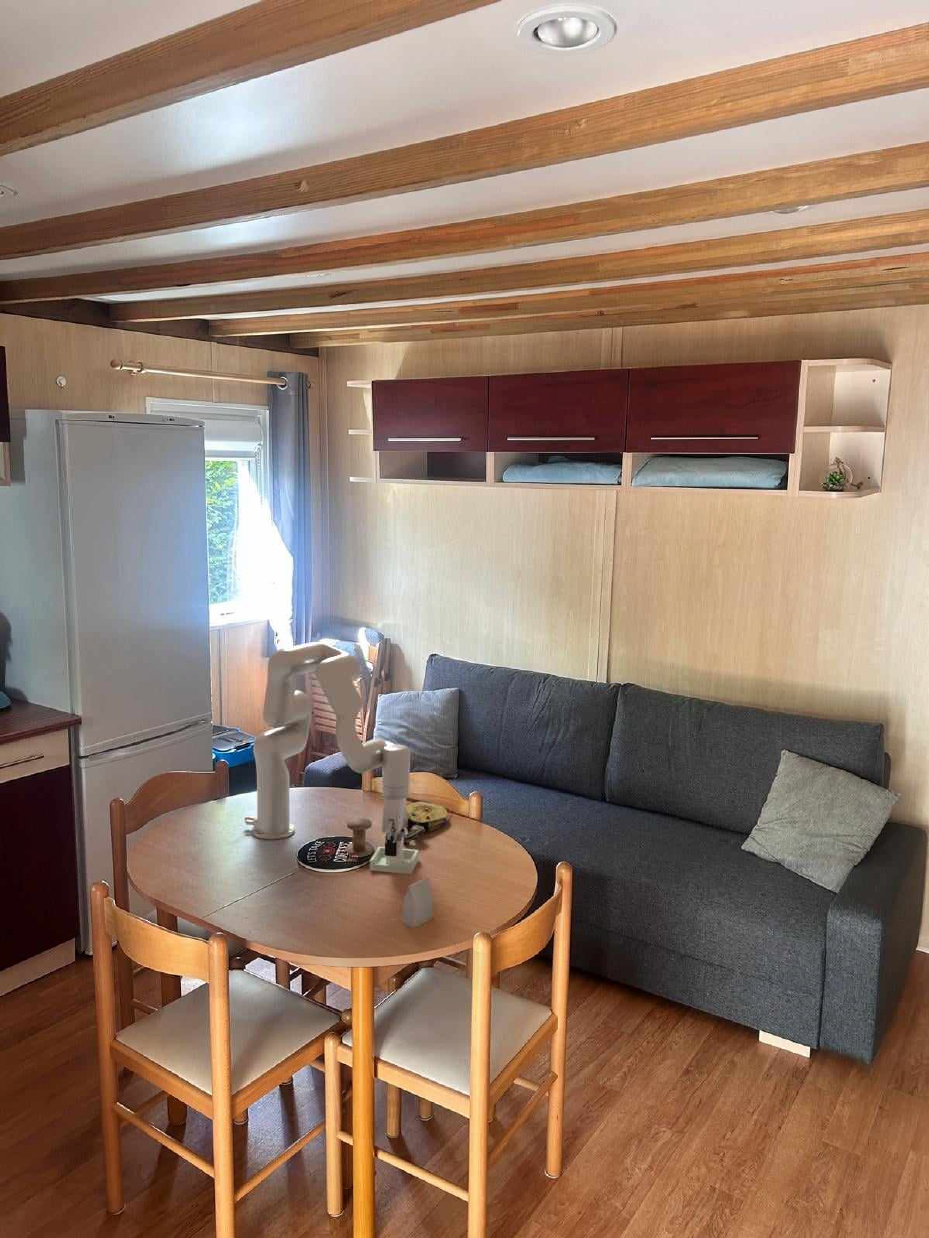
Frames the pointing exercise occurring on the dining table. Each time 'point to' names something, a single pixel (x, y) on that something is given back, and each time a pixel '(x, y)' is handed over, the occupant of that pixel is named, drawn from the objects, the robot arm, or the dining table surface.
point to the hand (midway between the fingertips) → (394, 848)
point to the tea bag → (418, 903)
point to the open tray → (406, 866)
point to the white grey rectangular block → (399, 857)
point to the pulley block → (423, 818)
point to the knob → (359, 837)
